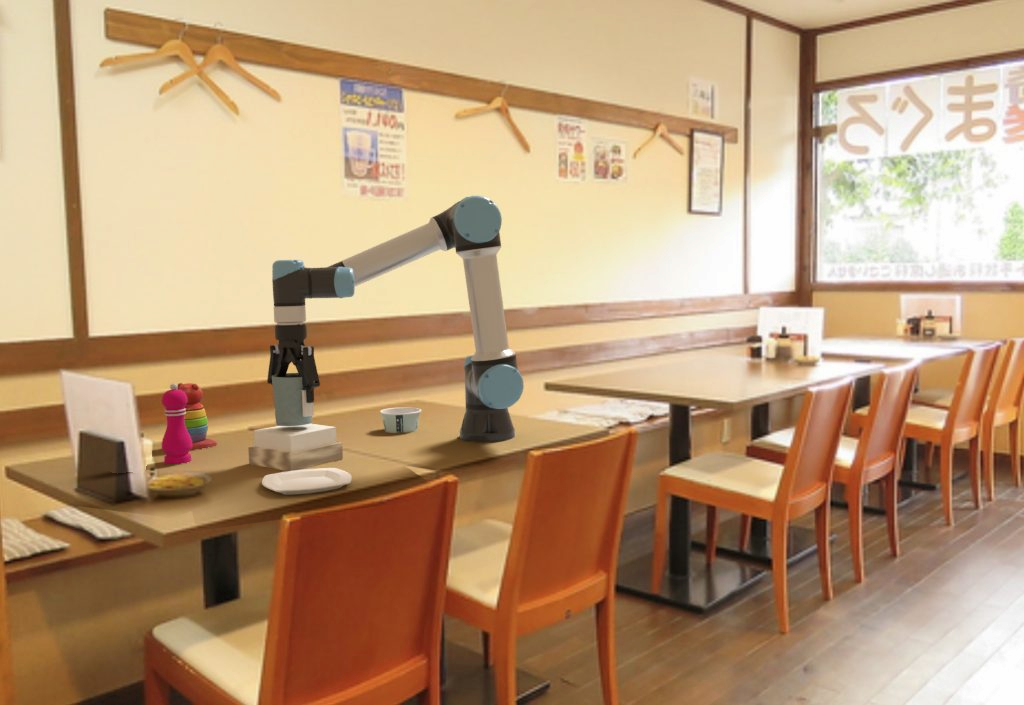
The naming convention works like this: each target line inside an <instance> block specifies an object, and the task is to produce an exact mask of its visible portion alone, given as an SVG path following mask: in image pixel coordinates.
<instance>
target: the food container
mask: <svg viewBox="0 0 1024 705" xmlns="http://www.w3.org/2000/svg"><path fill="white" fill-rule="evenodd" d="M421 412H422V409H421V408H417V407H407V406H406V407H403V406H402V407H391V408H384V409H381V410H380V411H379V414H381V417H382V424H383V428H384V432H386V433H389V434H404V433H411V432H416V431H418V430H419V424H420V423H419V421H420V413H421Z"/></svg>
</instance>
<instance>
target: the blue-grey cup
mask: <svg viewBox="0 0 1024 705" xmlns="http://www.w3.org/2000/svg"><path fill="white" fill-rule="evenodd" d="M271 385H273V386H272V390H273V391H272V392H273V394H272V395H273V401H274V404H273V406H274V409H275V410H274V416H275V417H274V418H275V424H276V426H299V425H306V424H312V422H313V416H308V417H303V407H302V388H304V387H303V384H302V377H300V376H299V374H298V372H287V373H286V376H285V377H277V374H276V375H272V384H271Z"/></svg>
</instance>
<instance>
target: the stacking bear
mask: <svg viewBox="0 0 1024 705" xmlns="http://www.w3.org/2000/svg"><path fill="white" fill-rule="evenodd" d="M177 386H178V388H177V389H178V390H182V391H183V392H185V394H186V395H187V404H186V405H185V407H184V408H185V409H186V410H185V412H186V414H184V421H185V426H186V429H187V431H188V433H189V435H190V437H191V440H192V448H191V451H196V450H195V449H200V450H203V449H202V448H206V449H209V448H208V447H210V448H214V447H217V446H218V442H217V440H215V439H212V438H207V434H208V433H207V432H208V428H209V424H208V423H209V420H208V416H207V413H206V409H205V408H204V405H203V404H202V403H201V400H202V399H203V396H204V392H203V390H202V388H201V387H200V386H199V385H198V384H197V383H193V382H192V383H189V382H188V383H182V382H180V383H178V384H177ZM216 445H217V446H216ZM213 446H214V447H213Z"/></svg>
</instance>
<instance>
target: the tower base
mask: <svg viewBox="0 0 1024 705" xmlns="http://www.w3.org/2000/svg"><path fill="white" fill-rule="evenodd" d="M247 450H248V464H249V465H252V466H258V467H264V468H269V469H274V470H281V471H284V472H287V471H294V470H303V469H309V468H311V467H315V466H318V465H319V466H320V465H325V464H327V463H332V462H333V463H334V462H338V461H343V460H342V459H344V456H343V454H344V453H343V452H344V451H343V442H341V441H337V443H334V444H330V445H325V446H321V447H316V448H311V449H307V450H302V451H298V452H293V453H289V452H283V451H277V450H271V449H265V448H259V447H254V445H251V446H248V449H247Z"/></svg>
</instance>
